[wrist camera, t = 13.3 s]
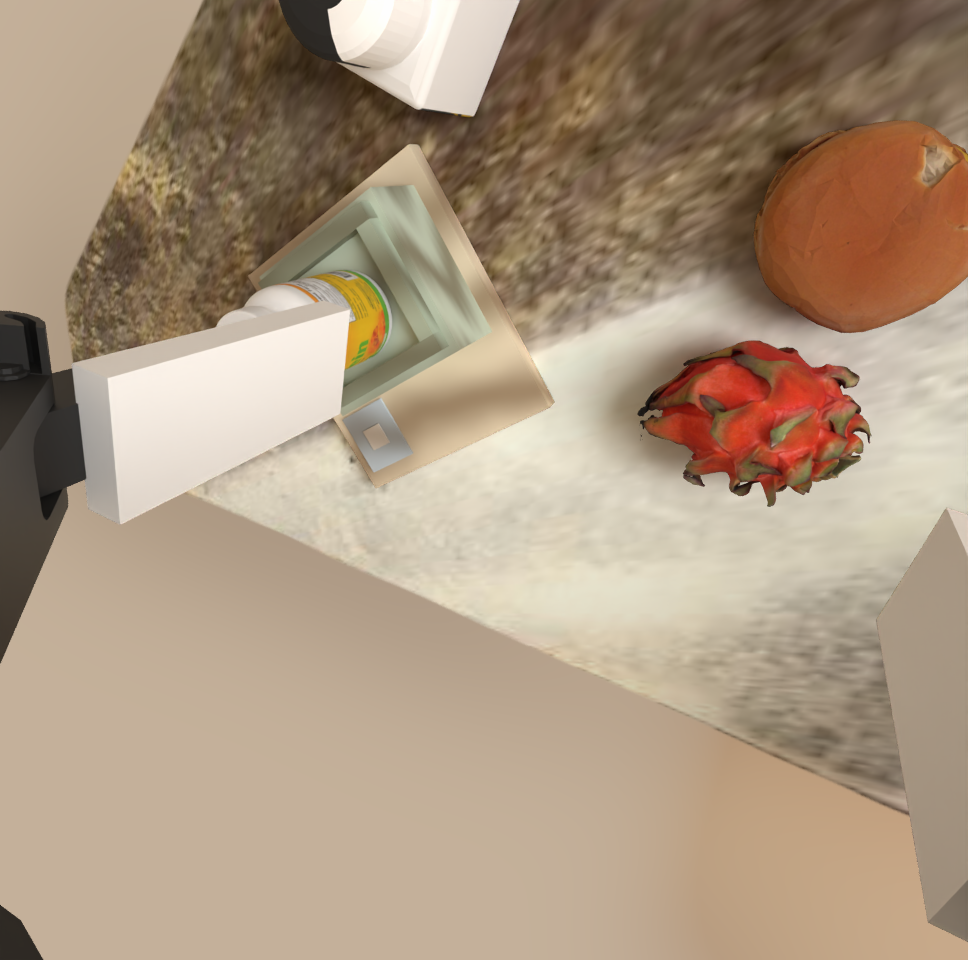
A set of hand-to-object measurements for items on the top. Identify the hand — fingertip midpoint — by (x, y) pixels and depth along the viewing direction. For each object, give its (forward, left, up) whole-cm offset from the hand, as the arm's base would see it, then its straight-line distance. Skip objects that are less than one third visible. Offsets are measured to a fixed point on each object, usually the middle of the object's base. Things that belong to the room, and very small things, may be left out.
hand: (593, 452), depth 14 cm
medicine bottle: (+19, +7, -28) cm, 34 cm away
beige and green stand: (+6, +20, -27) cm, 34 cm away
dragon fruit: (-8, +1, -28) cm, 29 cm away
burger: (-1, -7, -28) cm, 29 cm away
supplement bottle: (+8, +18, -21) cm, 29 cm away
